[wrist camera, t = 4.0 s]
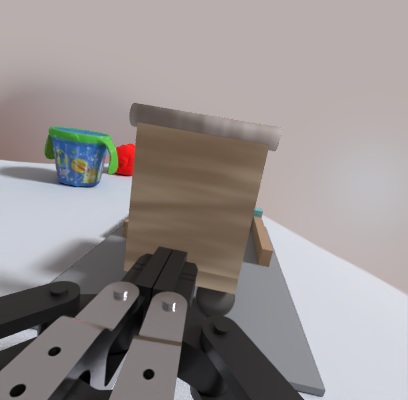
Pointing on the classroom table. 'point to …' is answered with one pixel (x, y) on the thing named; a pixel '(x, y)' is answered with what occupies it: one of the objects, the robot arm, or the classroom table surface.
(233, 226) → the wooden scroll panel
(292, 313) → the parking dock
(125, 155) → the flower
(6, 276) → the classroom table surface
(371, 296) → the classroom table surface
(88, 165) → the snack cup
